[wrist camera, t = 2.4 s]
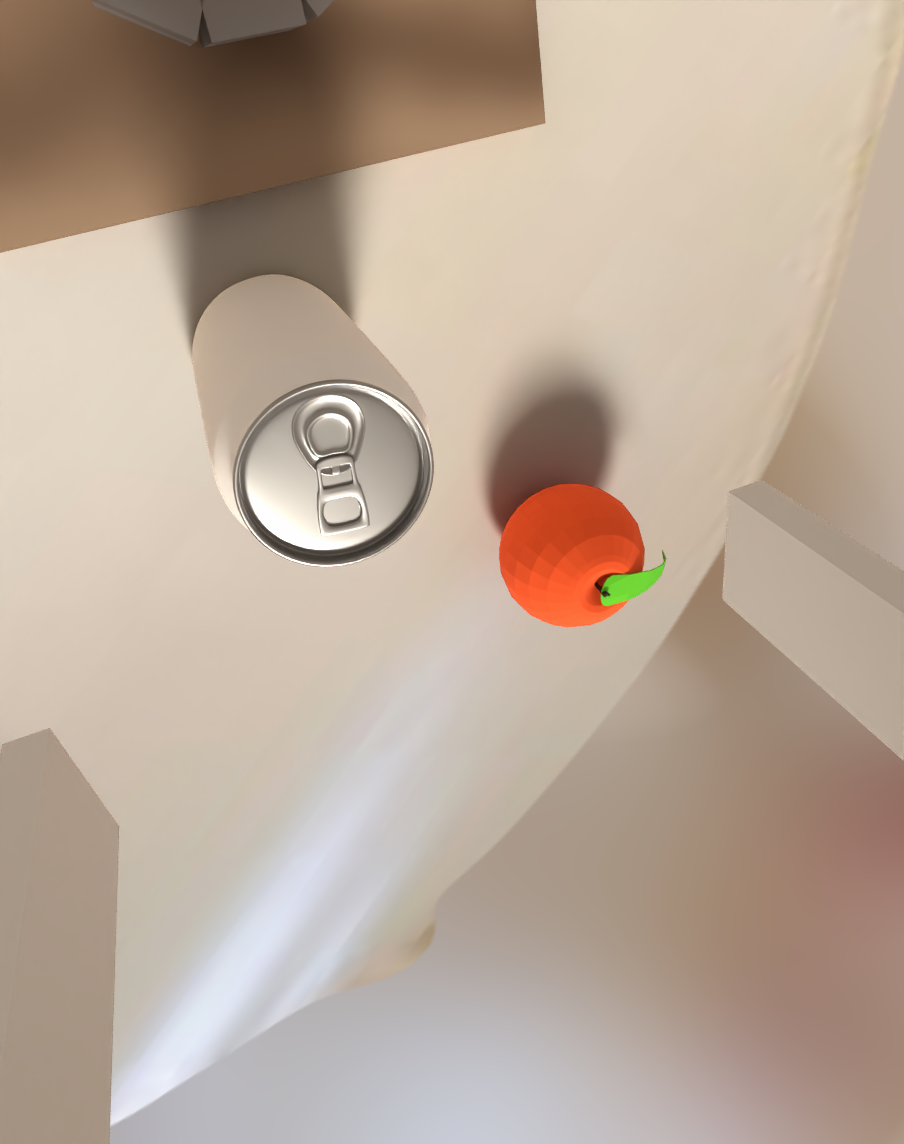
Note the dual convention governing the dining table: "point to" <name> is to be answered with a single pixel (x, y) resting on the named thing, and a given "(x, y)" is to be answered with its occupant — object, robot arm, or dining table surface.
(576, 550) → the clementine
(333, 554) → the can
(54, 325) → the dining table surface
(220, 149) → the wooden board with blocks
